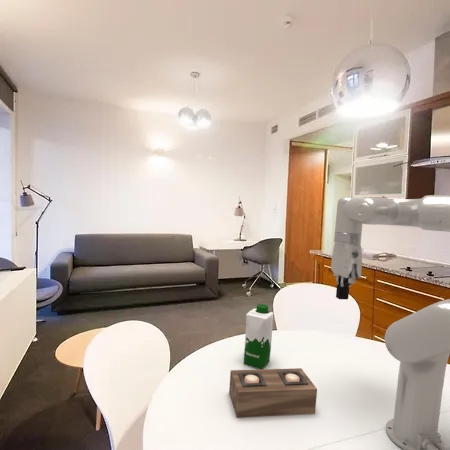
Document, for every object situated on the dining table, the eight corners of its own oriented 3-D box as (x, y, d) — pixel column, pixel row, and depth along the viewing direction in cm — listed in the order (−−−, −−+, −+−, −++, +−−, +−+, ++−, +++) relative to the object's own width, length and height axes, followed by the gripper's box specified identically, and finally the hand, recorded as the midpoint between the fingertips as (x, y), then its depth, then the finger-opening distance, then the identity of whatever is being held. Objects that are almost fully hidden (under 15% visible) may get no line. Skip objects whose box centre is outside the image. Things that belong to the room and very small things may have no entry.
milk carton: (272, 361, 119) (276, 306, 117) (263, 371, 111) (267, 313, 109) (250, 354, 123) (253, 301, 122) (239, 364, 115) (243, 308, 114)
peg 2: (299, 404, 93) (301, 380, 93) (286, 405, 93) (288, 380, 92) (294, 396, 97) (296, 372, 97) (281, 396, 97) (283, 373, 96)
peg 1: (258, 406, 91) (260, 381, 91) (244, 407, 91) (246, 382, 90) (255, 397, 95) (256, 373, 95) (241, 398, 95) (243, 374, 94)
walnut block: (315, 413, 91) (317, 387, 90) (236, 417, 87) (238, 390, 86) (299, 390, 101) (301, 367, 101) (229, 392, 98) (230, 368, 97)
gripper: (374, 242, 92) (367, 306, 94) (345, 236, 107) (340, 291, 108) (349, 241, 91) (343, 306, 93) (324, 235, 106) (319, 291, 107)
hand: (341, 298), depth 100 cm, fingers closed
